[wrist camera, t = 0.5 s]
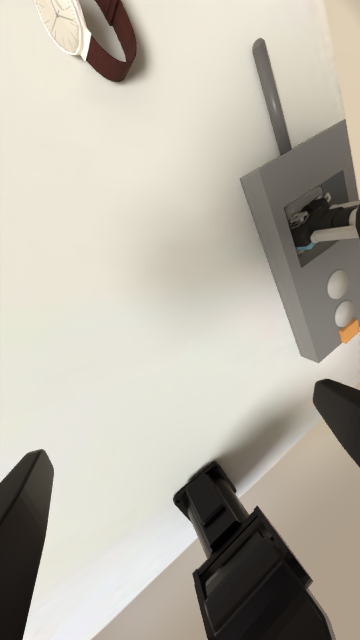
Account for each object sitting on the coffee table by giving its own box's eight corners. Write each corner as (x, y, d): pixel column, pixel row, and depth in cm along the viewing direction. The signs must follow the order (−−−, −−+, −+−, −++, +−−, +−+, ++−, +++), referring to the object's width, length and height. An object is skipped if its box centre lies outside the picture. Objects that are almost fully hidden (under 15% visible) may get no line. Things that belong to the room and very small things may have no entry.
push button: (304, 179, 25) (433, 132, 16) (328, 216, 27) (452, 192, 18) (270, 231, 24) (381, 212, 15) (296, 263, 27) (406, 263, 18)
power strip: (356, 308, 33) (381, 313, 30) (300, 355, 30) (322, 364, 28) (298, 25, 21) (331, -10, 18) (201, 66, 19) (221, 33, 16)
